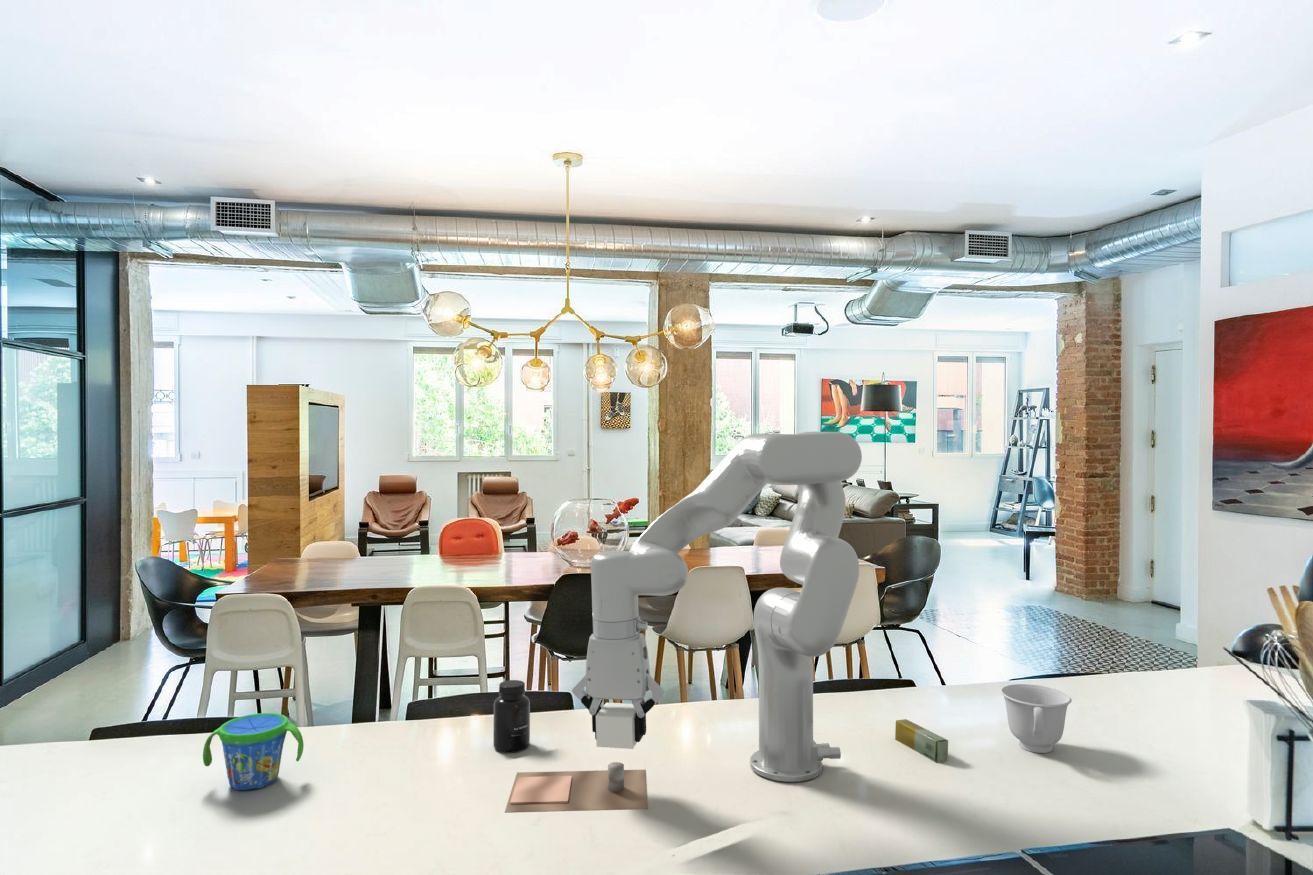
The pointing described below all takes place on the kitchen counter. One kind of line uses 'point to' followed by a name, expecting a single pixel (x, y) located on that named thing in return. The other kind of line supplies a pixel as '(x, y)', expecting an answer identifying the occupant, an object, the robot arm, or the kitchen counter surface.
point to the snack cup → (253, 748)
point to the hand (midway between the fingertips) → (619, 736)
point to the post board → (579, 790)
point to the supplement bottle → (511, 717)
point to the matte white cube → (616, 726)
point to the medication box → (922, 740)
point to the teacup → (1036, 715)
